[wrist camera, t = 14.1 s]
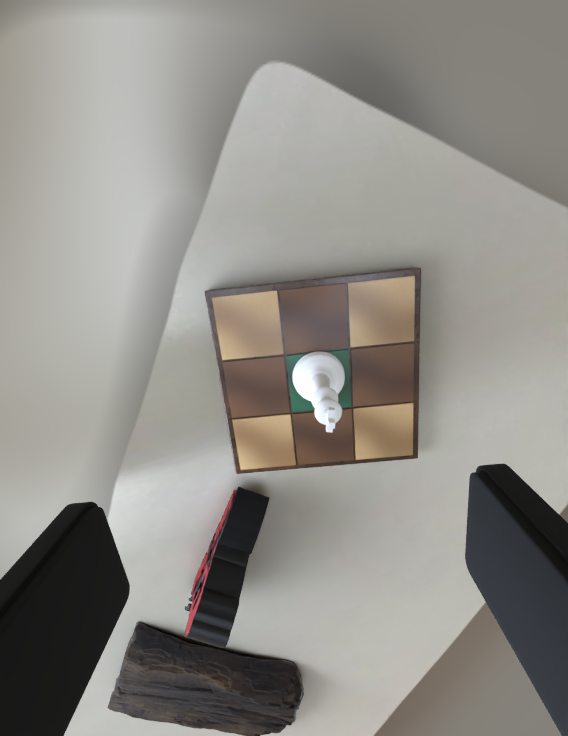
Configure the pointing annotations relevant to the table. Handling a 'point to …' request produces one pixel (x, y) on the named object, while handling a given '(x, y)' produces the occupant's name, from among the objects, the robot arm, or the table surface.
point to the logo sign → (225, 569)
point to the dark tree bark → (204, 686)
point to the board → (325, 334)
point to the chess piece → (321, 385)
